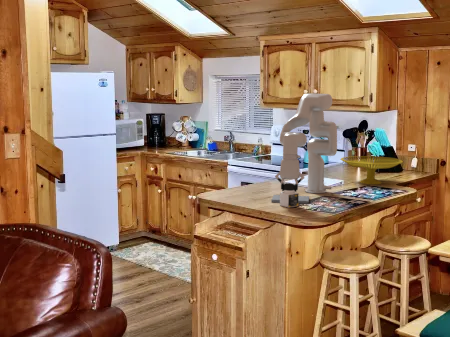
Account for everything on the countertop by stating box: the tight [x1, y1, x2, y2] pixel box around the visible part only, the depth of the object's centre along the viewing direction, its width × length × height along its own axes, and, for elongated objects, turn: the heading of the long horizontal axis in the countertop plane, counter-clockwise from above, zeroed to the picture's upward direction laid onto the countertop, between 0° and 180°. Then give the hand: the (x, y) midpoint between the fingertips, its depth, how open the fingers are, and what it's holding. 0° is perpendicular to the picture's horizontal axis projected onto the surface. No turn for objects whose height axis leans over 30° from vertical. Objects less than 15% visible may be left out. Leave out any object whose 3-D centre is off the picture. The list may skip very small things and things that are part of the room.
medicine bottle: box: [279, 182, 300, 208], centre depth 315 cm, size 7×7×12 cm
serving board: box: [270, 194, 310, 205], centre depth 330 cm, size 20×14×2 cm
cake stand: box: [340, 155, 404, 185], centre depth 390 cm, size 40×40×15 cm
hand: (289, 190), depth 315 cm, fingers closed on medicine bottle, 6 cm apart
